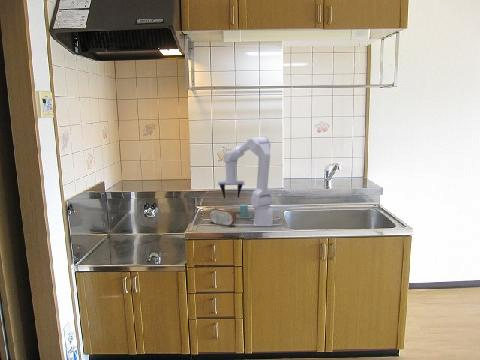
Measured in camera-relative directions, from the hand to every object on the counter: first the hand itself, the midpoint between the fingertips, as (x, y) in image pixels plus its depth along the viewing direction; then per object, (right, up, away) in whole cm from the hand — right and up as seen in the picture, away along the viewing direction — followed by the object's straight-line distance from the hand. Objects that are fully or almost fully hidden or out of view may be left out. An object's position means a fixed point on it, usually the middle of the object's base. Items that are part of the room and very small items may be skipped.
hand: (231, 197), depth 218 cm
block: (+7, -10, -5) cm, 13 cm away
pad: (+7, -10, -5) cm, 14 cm away
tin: (-4, -13, -18) cm, 23 cm away
